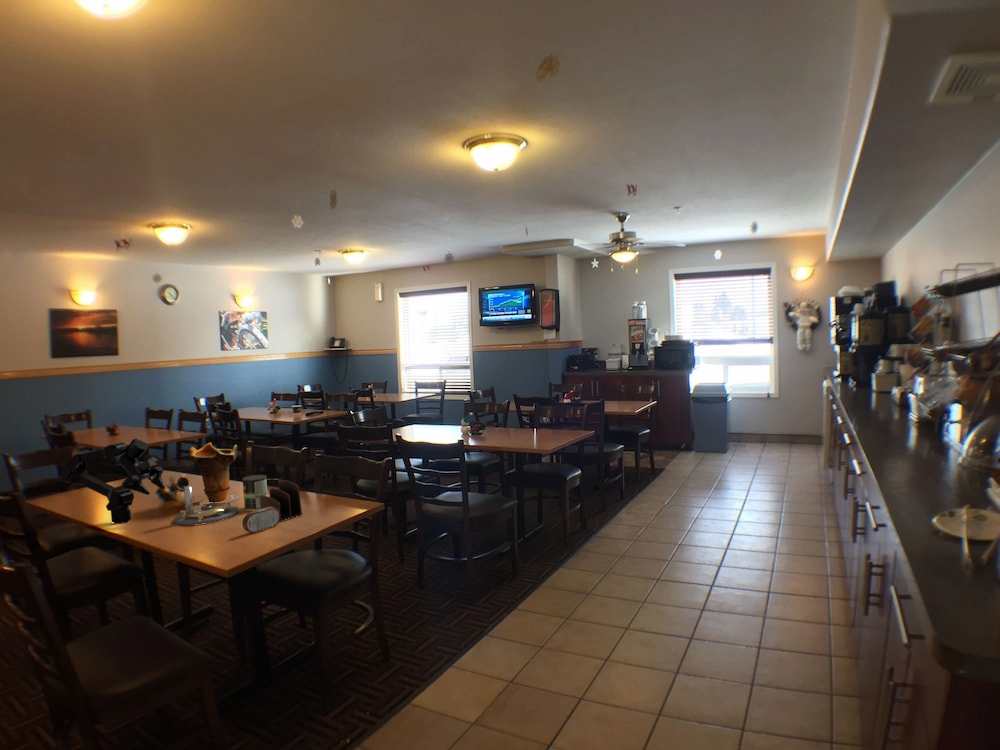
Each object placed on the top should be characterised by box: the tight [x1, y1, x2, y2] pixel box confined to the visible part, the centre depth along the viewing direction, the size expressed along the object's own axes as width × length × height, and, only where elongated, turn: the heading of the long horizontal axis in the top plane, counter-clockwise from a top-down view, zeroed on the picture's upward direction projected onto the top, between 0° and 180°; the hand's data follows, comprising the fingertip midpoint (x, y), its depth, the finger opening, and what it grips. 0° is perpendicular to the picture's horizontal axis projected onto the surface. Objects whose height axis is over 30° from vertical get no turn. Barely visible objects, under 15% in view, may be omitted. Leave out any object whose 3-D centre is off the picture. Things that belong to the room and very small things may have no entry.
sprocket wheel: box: [179, 485, 234, 519], centre depth 259 cm, size 21×21×13 cm
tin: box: [242, 507, 280, 534], centre depth 237 cm, size 15×3×8 cm, turn 141°
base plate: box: [174, 504, 239, 526], centre depth 260 cm, size 25×25×2 cm
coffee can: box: [242, 474, 269, 511], centre depth 270 cm, size 10×10×14 cm
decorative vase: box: [189, 442, 238, 505], centre depth 285 cm, size 21×23×28 cm
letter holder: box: [260, 479, 303, 522], centre depth 257 cm, size 10×20×14 cm, turn 44°
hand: (156, 491), depth 254 cm, fingers open, 9 cm apart
